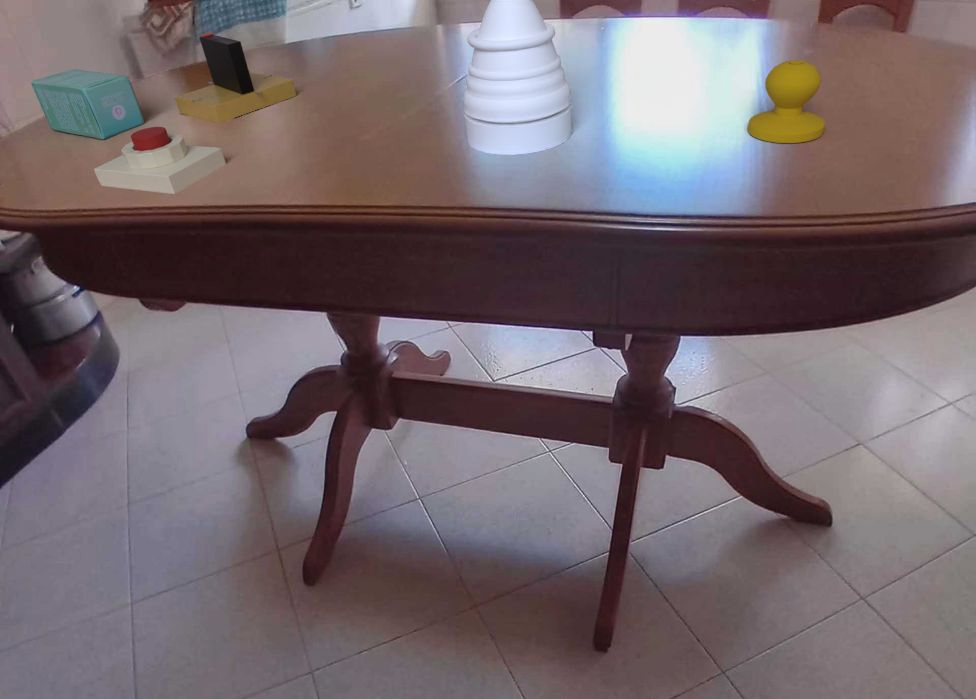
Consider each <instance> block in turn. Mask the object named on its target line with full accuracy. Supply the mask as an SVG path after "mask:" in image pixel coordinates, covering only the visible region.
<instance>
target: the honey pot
mask: <svg viewBox="0 0 976 699" xmlns="http://www.w3.org/2000/svg"><path fill="white" fill-rule="evenodd" d="M479 25H480V26H479V28H477V29H474V30H473V31H472V32H470V33H469V34H468V35H467V40H466V41H467V43H468V45H469V46H470V47H471V48H474V49H473V53H472V58H471V61H470V63H469V64H468V69H467V71H468V75H467V78H466V84H465V85H466V88H465V89H464V92H463V96H462V104H463V111H464V115H463V117H464V118H463V119H464V125H465V126H464V127H465V135H466V142H467V145H469V147H471V148H472V149H473V150H476V151H478V152H481V153H485V154H491V155H498V156H516V155H517V156H519V155H528V154H529V155H530V154H534V153H539V152H544V151H547V150H549V149H553V148H556V147H558V146H560V145H562V144H565V142H567V141H568V140H569V139H570V138H571V135H572V132H573V131H572V129H573V128H572V104H571V102H572V100H571V94H572V92H571V88H570V83H569V82H568V80H567V79H566V78H565V77H566V75H565V71H564V68H563V67H562V60H561V56H560V55H558V53H557V49H556V47H555V45H554V42H553V38H555V35H556V29H555V27H554V26H552V25H551V24H549V23H546V22H545V20H544V18H543V16H542V14H541V12H540V10H539V9H538V7H537V5H536V4H535V2H534V0H490V1H489V3H488V5H487V7H486V9H485V11H484V13H483V16H482V20H481V23H480V24H479Z"/></svg>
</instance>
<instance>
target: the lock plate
mask: <svg viewBox="0 0 976 699" xmlns="http://www.w3.org/2000/svg"><path fill="white" fill-rule="evenodd" d="M249 74H250V77H251V81H252V84H253V88H254V91H253V92H250V93H246V94H243V95H242V94H239V93H237V92H234V91H231V90H228V89H225V88H222V87H219V86H217V85H214V83H213V81H212V82H211V81H207V82H206V84H207V85H208V86H204V87H202V88H199V89H196V90H193V91H192V90H191V91H190V92H186V93H183V94H180V95H177V96H174V97H173V98H174V101H175V104H176V107H177V109H178V112H179V115H183V116H188V117H192V118H196V119H199V120H204V121H209V122H213V123H216V124H222V123H225V122H227V121H230V119H231V120H233V119H236V118H235V117H237V118H239V117H238V116H240V117H242V116H245V115H247V114H246V113H248V114H250V113H249V112H251V113H253V112H256V111H258V110H257V109H259V110H261V108H262V109H264V108H267V107H269V105H270V106H273V105H275V104H277V103H280V102H283V101H285V100H289V99H291V98H294V97H296V96H297V92H296V89H295V85H294V81H293V79H291V78H285V77H280V76H273V74H262V73H255V72H249ZM272 104H273V105H272ZM266 106H267V107H266ZM255 110H256V111H255ZM252 111H253V112H252ZM244 114H245V115H244ZM241 115H242V116H241ZM232 118H233V119H232Z"/></svg>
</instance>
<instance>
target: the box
mask: <svg viewBox="0 0 976 699" xmlns="http://www.w3.org/2000/svg"><path fill="white" fill-rule="evenodd" d="M30 84H31V86H32V89H33V91H34V93H35V96H36V98H37V101H38V102H39V104H40V107H41V109H42V111H43V114H44V115H45V118H46V122H47V123H48V126H49V128H50V129H51V130H52V131H57V132H62V133H67V134H73V135H78V136H84V137H87V138H88V137H89V138H94V139H99V140H103V141H104V140H107V139H109V138H112V137H115V136H118V135H120V134H122V133H125V132H127V131H130V130H133V129H135V128H138V127H141V126H142V125H145V119H144V116H143V113H142V110H141V106H140V104H139V101H138V99H137V98H138V97H137V96H136V93H135V91H134V88H133V85H132V83H131V81H130V78H129V77H128V76H127V75H124V74H115V73H107V72H101V71H91V70H84V69H83V70H82V69H76V68H74V69H68V70H66V71H63V72H59V73H55V74H52V75H48V76H43V77H41V78H37V79H33V80H31V81H30Z"/></svg>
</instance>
